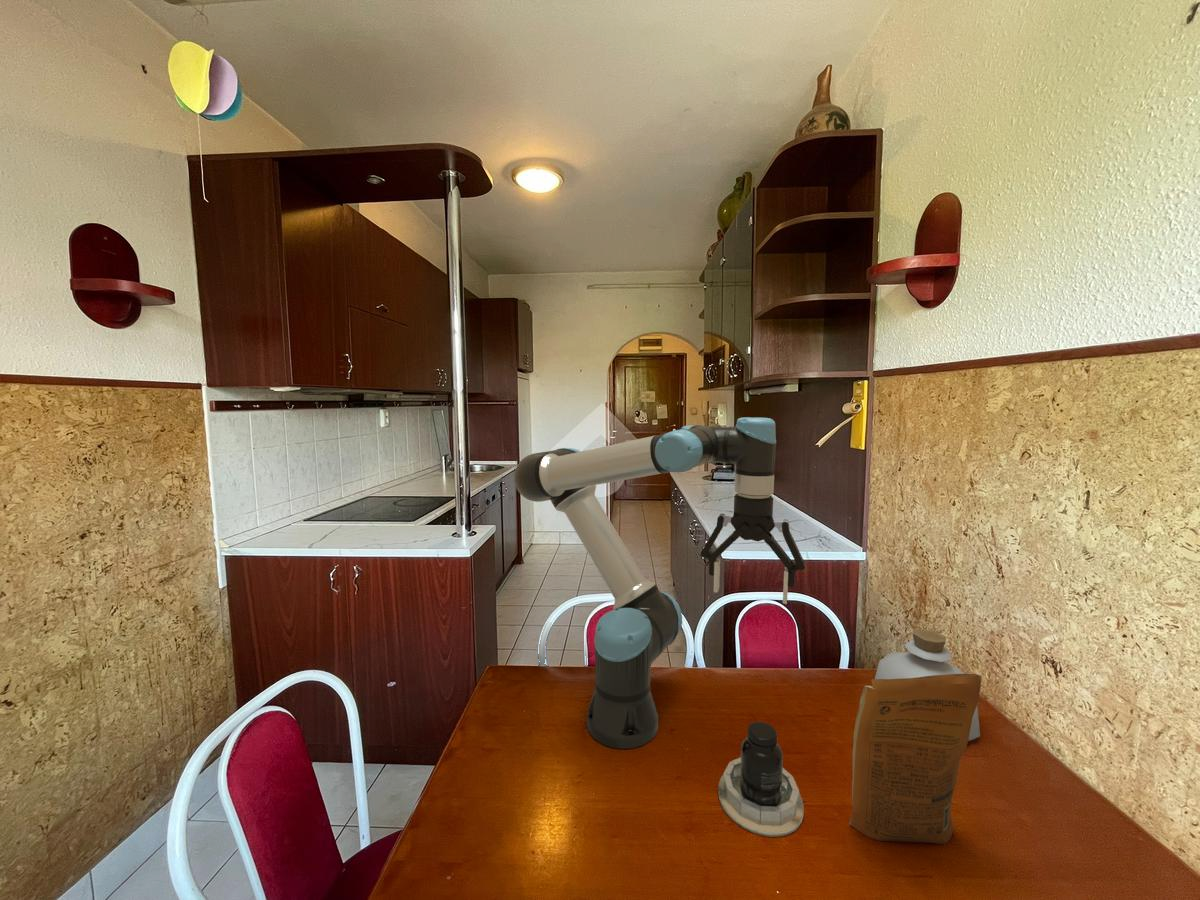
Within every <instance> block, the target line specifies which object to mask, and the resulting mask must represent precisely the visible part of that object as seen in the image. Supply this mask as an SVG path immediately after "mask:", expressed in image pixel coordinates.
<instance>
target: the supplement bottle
mask: <svg viewBox="0 0 1200 900" xmlns="http://www.w3.org/2000/svg"><path fill="white" fill-rule="evenodd" d="M740 751H741V752H740V757H741V777H740V789H741V793H742V795H743V797H744V799H746V800H748V801H751V802H753V803H755V804H757V805H759V806H772V807H777V806H778V805H779V804H780V802H781V796H782V768H784V767H783V765H784V762H783V761H784V760H783V759H784V756H783V754H784V753H783V750H782V749H781V747H780V745H779V744H778V732H777V729H776V728H775V727H773V726H772V725H771V724H769V723H767V722H762V721H753V722H751V723H749V724H748V726H747V733H746V738H744V739H743V740H742V743H741V748H740Z"/></svg>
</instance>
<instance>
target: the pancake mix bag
mask: <svg viewBox="0 0 1200 900" xmlns="http://www.w3.org/2000/svg"><path fill="white" fill-rule="evenodd" d="M870 682H871V685H864V686H863V689H862V691H861V695H860V699H859V705H858V706H859V707H858V711H857V715H856V718H855V723H854V728H853V729H854V731H853V746H852V765H851V767H852V783H851V804H852V805H851V806H852V811H851V814H850V817H849V818H850V819H849V823H848V825H849V826H851V827H852V828H854V829H855V830H857V831H858V832H860V833H861V834H862V835H864V836H866V837H867V838H869V839H870V838H871V839H873V840H876V841H879V842H897V843H898V842H902V843H927V844H937V845H946V844H947V843H948V842H950V840H951V839H952V835H953V831H954V824H953V823H954V822H953V817H952V809H951V808H952V804H953V803H952V800H953V797H954V796H953V795H954V793H955V789H956V786H957V784H958V775H959V769H960V761H961V758H962V756H963V754H964V752H965V750H966V748H967V746H968V743H969V741H968V739H969V734H970V729H971V723H972V718H973V715H974V712H975V709H976V707H977V708H978V703H979V698H980V693H981V689H982V688H981V687H982V675H980V674H978V673H966V674H944V675H933V676H924V677H917V678H899V679H875V678H873V679H871V681H870Z"/></svg>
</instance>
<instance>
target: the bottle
mask: <svg viewBox="0 0 1200 900" xmlns="http://www.w3.org/2000/svg"><path fill="white" fill-rule="evenodd" d="M946 643H947V636H946V635H944V634H942V633H940V632H938V631H936V630H934V629H928V628H927V629H926V628H925V629H924V628H913V631H912V639H911V640H909V641H908V642H907V643H905V644H904V647H905V648H906V649H907V652H906V651H905V652H901V651H900V652H897V651H896V652H889V653H887V655H885V656H884V657H883V658H881V659H880V660H879V662H878V666H877V669H876V673H875V676H874V679H899V678H917V677H924V676H933V675H944V674H967V673H966V672H964V671H963V670H961V669H959V668H958V667H957V666H955V665H953V664H952V663H950V662H949V661H951V660H953V657H952V653H951V652H950V650H949V649H948V648H947V647H945V645H946ZM978 708H979V707H978V706H977V707H976V709H975V712H974V715H973V718H972V723H971V729H970V734H969V739H968V742H971V741H973V740H975V739H977V738H979V737H981V731H980V722H979V721H980V720H979V711H978Z"/></svg>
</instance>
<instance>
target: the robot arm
mask: <svg viewBox="0 0 1200 900" xmlns="http://www.w3.org/2000/svg"><path fill="white" fill-rule="evenodd" d="M776 428H777V427H776V421H774V419H772V418H770V417H769V418H768V417H748V416H747V417H739V418H737V421H736V424H735V426H713V425H701V424H696V425H695V424H693V425H684V426H681V428H680V429H676V430H675V429H674V430H672V431H671V430H670V431H668V432H665V433H660V434H658V435H652V436H647V437H642V438H637V439H632V440H629V441H623V442H619V443H615V444H610V445H605V446H600V447H596V448H591V449H587V450H583V451H581V450H579V449H576V448H570V447H569V448H568V447H562V448H556V449H553V450H549V451H542V452H535V453H532V454H529V455H528V454H527V456H525V457H523V458H522V459H521V460H520V461H519V462H518V464H517V465H516V468H515V471H514V473H513V482H514V485H515V489H516V490H517V492H518V493H519V494H520V495H521V496H522V498H524V499H526V500H529V501H531V502H536V503H537V502H546V501H550V502H551V504H552V505H553V507H554V509H555V510H556V511H558V512H561V513H564V514H565V515H566V517H567V519H568V521H569V522H570V524H571V526H572V527H573V529H574V531H575V533H576V534H577V536H578V538H579V540H580V542H581V543H582V545H583V546H584V548H585V550H586V551H587V553H588V555H589V557H590V559H591V560H592V562H593V564H594V565H595V568H597V570H598V573H599V574H600V576H601V578H602V580H603V581H604V583H605V584H606V587H607V588H608V590H609V591H610V593H611V595H612V597H613V598H614V603H613V609H611V610H609V611H607V612H606V613H604V614H603V615H602V616H601V617H600V618H599V620H598V621H597V623H596V627H595V634H594V638H593V640H594V641H593V643H594V673H595V675H594V676H595V677H594V683H595V684H594V691H593V694H592V697H591V700H590V703H589V706H588V708H587V713H586V727H587V731H588V733H589V734H590V735H591V737H592V738H593V739H595V741H597V742H598V743H600V744H602V745H603V746H607V747H610V748H615V749H623V750H625V749H627V750H629V749H634V748H638V747H640V746H641V747H642V746H644V745H645V744H647V743H649V742H650V741H651V740H653V739H654V738H655V736H656V735H657V732H658V728H659V714H658V711H657V709H656V705H655V701H654V698H653V695H652V691H651V669H652V668H651V667H652V664H653V663H654V662H655V661H656V659H658V657H659V656H660V655H662V653H663V652H664V651H665V650H666V649H667V648H668V647H670V645H672V644H673V643H674V641H675V640H676V639H677V636H678V635H679V634H680V631H681V630H682V625H683V614H682V610H681V607H680V605H679V603H678V602H677V601H676V599H675V598H674V597H673V596H672V595H670V594H669V593H666V592H665V591H661V590H660V588H658V586H657V584H656V582H653V581H650V580H647V579H646V578H645V577H644V575H643V573H642V571H641V570H640V568H639V566H638V565H637V563H636V562H635V560H634V559H633V556H632V555H631V553H630V552H629V550H628V548H627V547H626V545H625V543H624V542H623V540H622V538H621V537H620V535H619V534H618V532H617V530H616V529H615V526H614V525H613V523H612V521H611V519H610V518H609V517H608V515H607V513H606V512H605V510H604V509H603V507H602V506H601V504H600V502H599V500H598V498H597V497H596V495H595V492H596V489H597V486H598V485H604V484H608V483H613V482H619V481H626V480H632V479H636V478H644V477H648V476H655V475H660V474H669V473H683V472H687V471H691V470H692V469H693V468H696V467H699V466H702V465H705V464H708V463H717V464H718V463H720V464H721V463H722V464H731V465H732V464H734V467H735V468H734V492H735V495H734V496H733V515H732V516H729V515H725V513H720V514H719V515H718V516H717V521H716V526H715V528H714V530H713V531H712V533H711V535H710V537H709V539H708V540H707V541H706V543H705V545H704V546H703V549H702V551H701V552H700V557H702V558H705V559H707V560H708V574H709V576H711V577H713V593H716V594H718V592H719V590H720V583H721V582H720V580H721V579H720V577H721V576H720V575H721V558H719V557H720V556H721V555H722V554H723V553H724V552H725V551H726V550H727V549H728V548H729V547H730V546H731V545H732V544H733V543H735V542H736V541H737V540H738V538H741V539H743V540H744V541H750V540H752V541H754V542H761V541H764V543H766V545H767V546H768V547H769V548H770V549H771V550H772V552H773V553H774V555H776V556H777V558H778V559H779V560H780V562H781V564H783V565H784V570H783V588H782V589H783V590H782V592H783V593H782V604H785V605H787V604H788V594H789V593H788V590H789V587H790V588H794V586H795V578H796V577H795V575H796V572H797V571H804V570H805V568H806V567H805V566H806V563H805V562H806V561H805V560H804V558H803V556H802V554H801V552H800V549H799V548H798V546H797V543H796V542H795V539H794V537H793V535H792V533H791V530H790V521H789V520H788V519H782V520H774V516H773V515H774V514H773V510H774V497H773V496H772V495H773V494H774V491H775V490H774V489H775V488H774V487H775V463H776V446H777V439H776V436H777V435H776V433H777V432H776V431H777V430H776ZM728 524H731V525H732V527H733V529H734V531H732V533H731V534H730V535H728V537H727V538H725V540H723V542H722V543H720V545H719V546H717V547H716V549H714V551H711V550H712V549H711V548H712V547H713V546H714V544H715V542H716V540H717V538H718V536H719V535H720V533H721V531H722V530H723V528H724V527H726V526H727V525H728ZM774 528H776V529H777V530H778V532H780V533H782V536H783V538H784V541H785V543H786V546H787V548H788V549H789V551H790V553H791V555H792V557H793V559H791V558H790V556H789V555H788V554H787V553H786V552H785V550H784V548H782V546H781V545H780V544H779V543H778V542H777V540H776V539H775V537H774V535H773V534H772V533H771V532H772V531H773V530H774ZM793 560H794V561H793Z"/></svg>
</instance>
